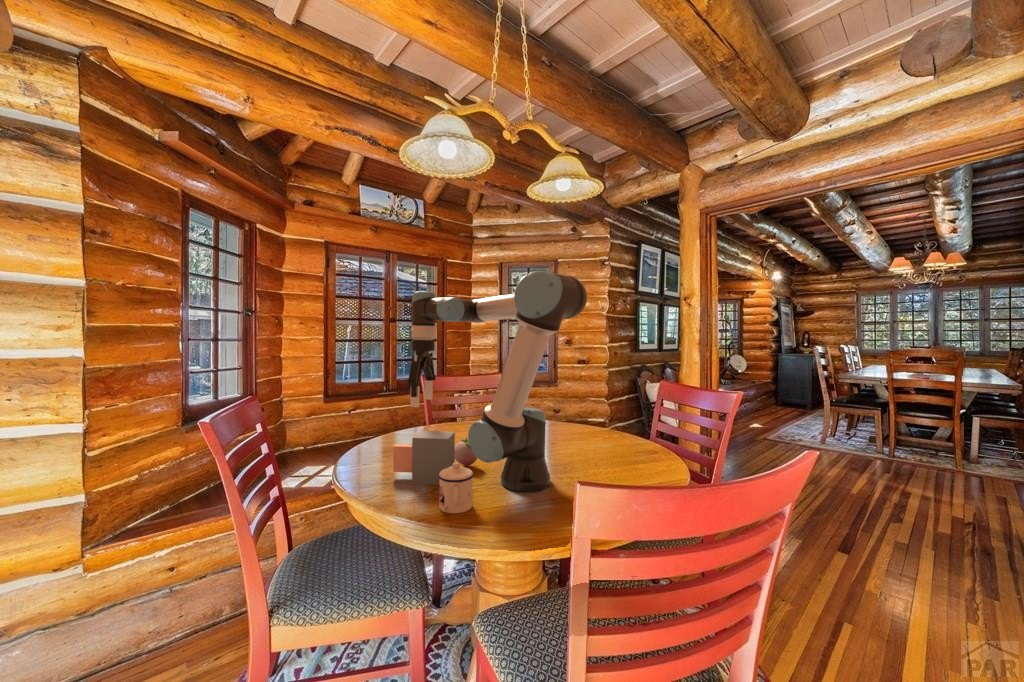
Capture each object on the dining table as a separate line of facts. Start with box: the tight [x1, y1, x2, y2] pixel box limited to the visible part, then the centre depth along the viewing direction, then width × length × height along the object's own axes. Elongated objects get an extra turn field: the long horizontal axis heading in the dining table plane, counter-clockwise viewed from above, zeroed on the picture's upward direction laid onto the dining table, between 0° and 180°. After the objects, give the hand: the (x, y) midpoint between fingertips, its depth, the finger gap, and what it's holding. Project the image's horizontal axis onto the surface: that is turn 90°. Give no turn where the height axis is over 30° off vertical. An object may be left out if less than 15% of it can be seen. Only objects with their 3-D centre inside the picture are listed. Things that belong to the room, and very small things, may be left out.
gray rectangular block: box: [411, 430, 456, 486], centre depth 129 cm, size 11×9×14 cm
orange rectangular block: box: [392, 443, 412, 474], centre depth 129 cm, size 16×2×8 cm, turn 86°
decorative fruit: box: [454, 437, 478, 468], centre depth 141 cm, size 9×8×10 cm
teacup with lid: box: [438, 461, 474, 514], centre depth 108 cm, size 12×9×12 cm
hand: (421, 403), depth 137 cm, fingers open, 13 cm apart
